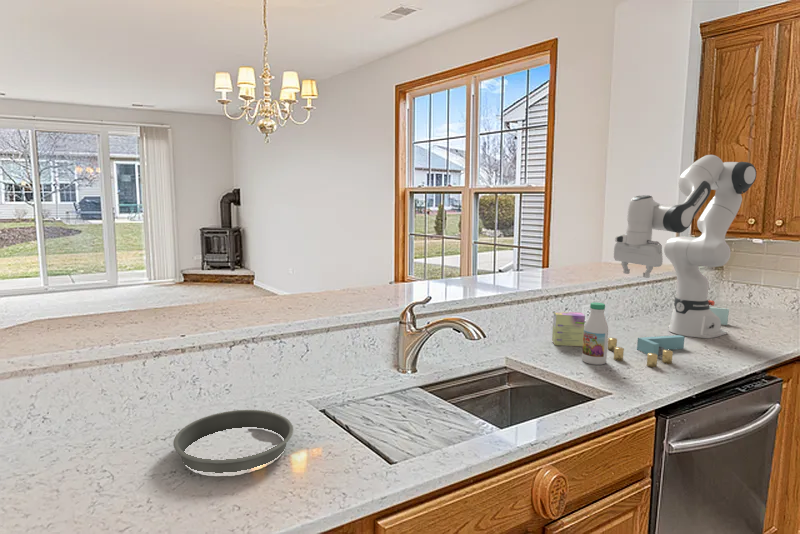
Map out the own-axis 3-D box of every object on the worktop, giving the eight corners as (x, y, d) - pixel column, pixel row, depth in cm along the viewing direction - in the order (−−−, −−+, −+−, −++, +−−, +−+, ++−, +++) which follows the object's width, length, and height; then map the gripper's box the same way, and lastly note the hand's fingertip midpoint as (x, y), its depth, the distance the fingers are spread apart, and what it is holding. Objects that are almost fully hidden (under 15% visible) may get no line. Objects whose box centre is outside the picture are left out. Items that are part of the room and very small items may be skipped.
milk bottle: (588, 356, 183) (592, 300, 180) (610, 361, 178) (614, 303, 175) (577, 361, 178) (581, 303, 175) (599, 367, 172) (603, 307, 169)
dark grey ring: (285, 480, 104) (285, 459, 103) (156, 485, 102) (154, 463, 101) (299, 425, 128) (299, 407, 127) (194, 427, 126) (194, 409, 125)
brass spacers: (626, 346, 196) (627, 335, 196) (676, 364, 176) (678, 352, 175) (591, 350, 190) (592, 339, 190) (638, 369, 170) (639, 357, 169)
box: (579, 342, 200) (581, 312, 199) (583, 346, 195) (585, 315, 193) (551, 341, 201) (553, 311, 200) (554, 345, 196) (556, 314, 194)
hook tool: (678, 346, 196) (679, 335, 196) (696, 353, 188) (697, 341, 188) (636, 349, 192) (637, 337, 191) (653, 356, 184) (654, 344, 183)
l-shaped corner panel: (727, 326, 230) (729, 309, 229) (695, 322, 235) (697, 306, 234) (723, 320, 241) (725, 304, 240) (693, 317, 246) (695, 301, 245)
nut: (657, 352, 190) (658, 345, 189) (665, 355, 186) (666, 348, 185) (648, 352, 189) (649, 345, 189) (657, 356, 185) (657, 349, 185)
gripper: (668, 241, 190) (665, 279, 192) (624, 236, 209) (622, 271, 211) (655, 242, 188) (652, 280, 190) (612, 237, 206) (609, 272, 208)
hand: (636, 275), depth 200 cm, fingers open, 8 cm apart
